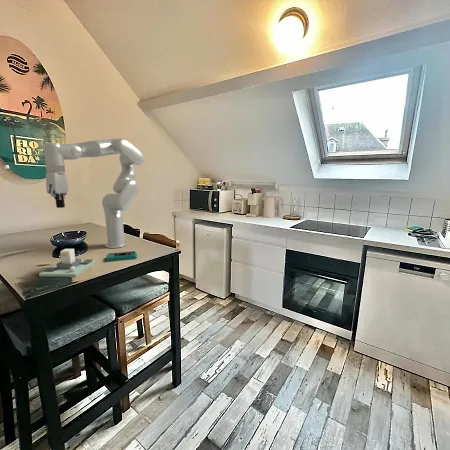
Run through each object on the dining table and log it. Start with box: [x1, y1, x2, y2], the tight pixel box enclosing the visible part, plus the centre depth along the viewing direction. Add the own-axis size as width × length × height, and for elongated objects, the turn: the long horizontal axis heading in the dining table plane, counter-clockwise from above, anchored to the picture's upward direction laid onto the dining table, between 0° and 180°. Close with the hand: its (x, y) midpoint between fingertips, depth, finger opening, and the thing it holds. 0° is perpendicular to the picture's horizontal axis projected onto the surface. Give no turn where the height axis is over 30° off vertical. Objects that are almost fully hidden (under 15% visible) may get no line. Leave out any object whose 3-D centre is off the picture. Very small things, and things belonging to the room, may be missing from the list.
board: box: [38, 258, 97, 278], centre depth 119 cm, size 18×16×4 cm
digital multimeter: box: [105, 250, 138, 263], centre depth 134 cm, size 7×15×3 cm, turn 110°
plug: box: [60, 248, 76, 263], centre depth 118 cm, size 5×4×8 cm
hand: (60, 207), depth 127 cm, fingers closed
